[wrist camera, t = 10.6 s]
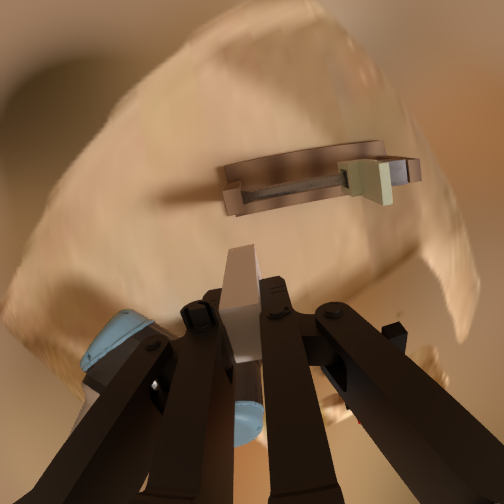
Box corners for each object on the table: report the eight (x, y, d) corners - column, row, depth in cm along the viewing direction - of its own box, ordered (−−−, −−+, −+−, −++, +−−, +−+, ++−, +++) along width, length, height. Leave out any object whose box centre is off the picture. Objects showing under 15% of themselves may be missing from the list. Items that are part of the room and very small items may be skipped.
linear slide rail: (236, 214, 44) (233, 236, 33) (225, 165, 41) (217, 170, 31) (386, 186, 43) (422, 199, 32) (379, 140, 40) (417, 140, 29)
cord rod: (237, 209, 35) (236, 215, 32) (232, 185, 34) (230, 188, 31) (404, 179, 34) (416, 182, 31) (402, 157, 33) (414, 158, 30)
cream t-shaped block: (341, 193, 35) (371, 207, 26) (336, 160, 34) (366, 165, 25) (368, 188, 35) (403, 202, 26) (364, 157, 33) (399, 161, 24)
